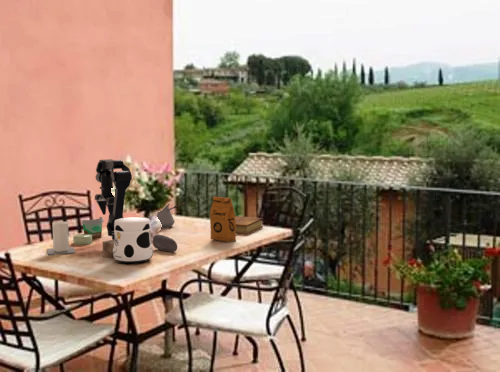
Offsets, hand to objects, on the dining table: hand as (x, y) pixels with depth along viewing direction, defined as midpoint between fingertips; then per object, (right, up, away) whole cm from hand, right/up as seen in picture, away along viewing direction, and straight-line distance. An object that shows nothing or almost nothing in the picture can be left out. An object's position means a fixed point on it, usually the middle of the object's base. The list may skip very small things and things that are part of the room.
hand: (108, 215), depth 319 cm
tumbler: (-17, -15, -21) cm, 31 cm away
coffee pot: (+27, -9, +38) cm, 47 cm away
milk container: (+20, -18, -39) cm, 48 cm away
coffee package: (+57, -13, +2) cm, 59 cm away
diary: (+65, -10, +31) cm, 73 cm away
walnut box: (+9, -17, -31) cm, 37 cm away
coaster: (-17, -16, -21) cm, 31 cm away
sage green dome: (-12, -14, -2) cm, 18 cm away
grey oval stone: (+32, -16, -20) cm, 41 cm away
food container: (-9, -12, +10) cm, 18 cm away
